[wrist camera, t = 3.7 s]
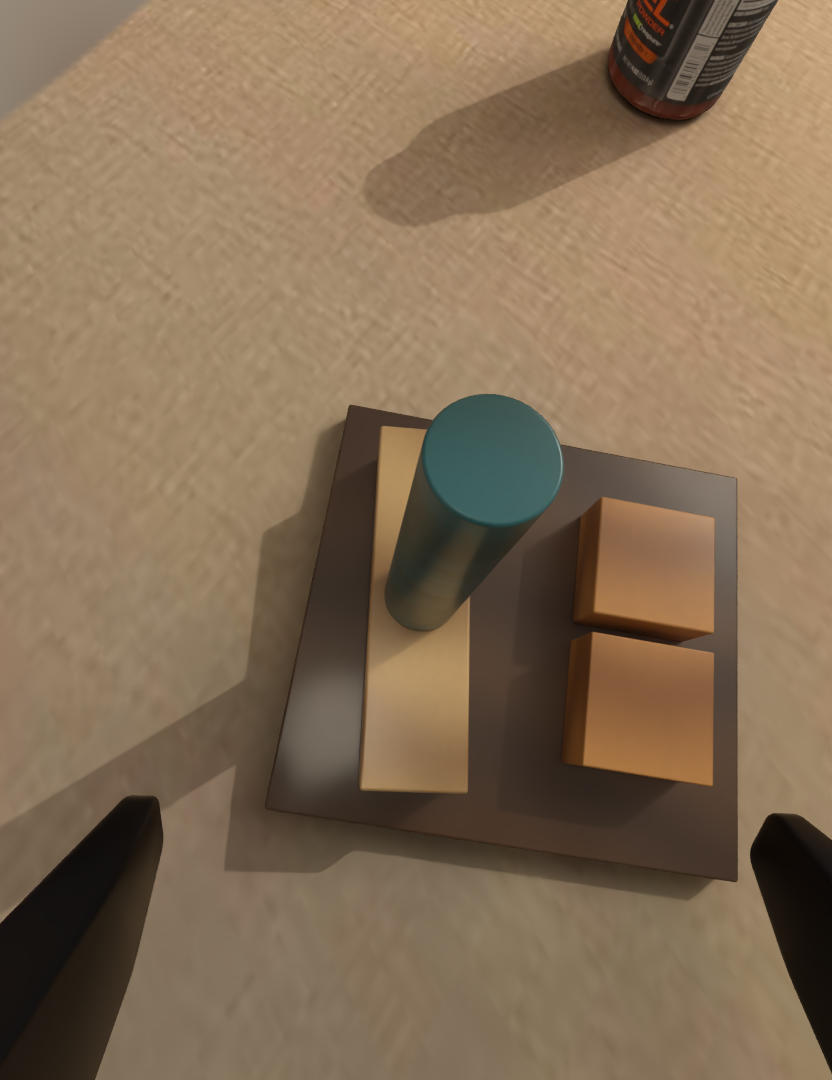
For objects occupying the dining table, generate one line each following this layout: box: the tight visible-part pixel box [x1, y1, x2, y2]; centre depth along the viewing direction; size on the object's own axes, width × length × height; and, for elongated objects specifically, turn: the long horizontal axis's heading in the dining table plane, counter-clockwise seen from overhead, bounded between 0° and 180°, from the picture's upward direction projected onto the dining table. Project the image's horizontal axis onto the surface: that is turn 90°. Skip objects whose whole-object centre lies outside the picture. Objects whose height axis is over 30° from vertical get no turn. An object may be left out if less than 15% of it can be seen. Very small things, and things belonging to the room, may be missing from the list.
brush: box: [358, 394, 564, 794], centre depth 16 cm, size 11×3×12 cm, turn 178°
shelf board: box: [265, 405, 738, 882], centre depth 22 cm, size 14×15×1 cm
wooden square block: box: [573, 497, 715, 642], centre depth 22 cm, size 4×4×2 cm
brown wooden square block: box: [561, 632, 714, 787], centre depth 20 cm, size 4×4×2 cm
